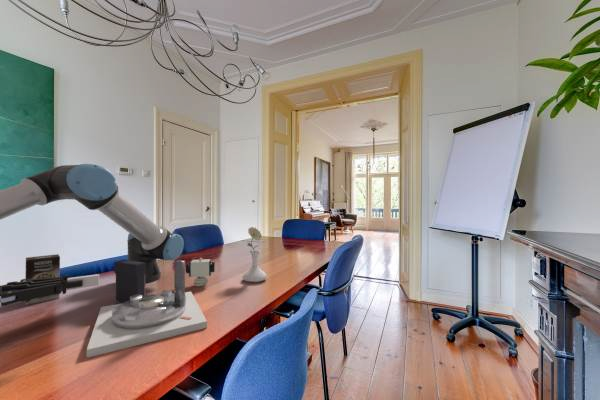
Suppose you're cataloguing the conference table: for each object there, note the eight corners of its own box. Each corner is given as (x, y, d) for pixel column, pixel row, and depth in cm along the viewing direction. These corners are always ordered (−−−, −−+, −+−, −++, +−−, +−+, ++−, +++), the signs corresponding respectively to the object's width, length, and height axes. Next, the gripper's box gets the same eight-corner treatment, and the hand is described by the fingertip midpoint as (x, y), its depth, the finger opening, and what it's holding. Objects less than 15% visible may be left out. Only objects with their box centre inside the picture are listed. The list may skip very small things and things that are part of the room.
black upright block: (146, 302, 95) (146, 261, 95) (136, 306, 91) (136, 264, 91) (125, 298, 98) (125, 259, 98) (113, 302, 94) (113, 261, 94)
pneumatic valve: (213, 286, 112) (214, 259, 112) (185, 287, 110) (185, 260, 110) (215, 282, 118) (215, 256, 118) (188, 283, 115) (188, 257, 115)
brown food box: (25, 305, 91) (25, 260, 91) (24, 300, 95) (24, 257, 95) (60, 298, 97) (60, 256, 97) (58, 293, 102) (58, 253, 102)
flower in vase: (271, 281, 120) (271, 228, 119) (248, 285, 113) (248, 229, 113) (259, 274, 130) (259, 225, 130) (237, 278, 124) (237, 226, 124)
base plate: (101, 312, 86) (101, 306, 86) (191, 296, 101) (191, 290, 101) (86, 357, 62) (86, 348, 62) (206, 327, 77) (206, 320, 77)
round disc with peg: (114, 337, 67) (114, 274, 67) (109, 310, 82) (109, 259, 82) (194, 315, 80) (194, 262, 80) (177, 295, 95) (177, 251, 95)
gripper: (-18, 303, 64) (101, 285, 76) (-50, 327, 53) (96, 301, 65) (-19, 273, 63) (101, 260, 76) (-51, 290, 52) (95, 272, 65)
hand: (98, 279), depth 71 cm, fingers closed
